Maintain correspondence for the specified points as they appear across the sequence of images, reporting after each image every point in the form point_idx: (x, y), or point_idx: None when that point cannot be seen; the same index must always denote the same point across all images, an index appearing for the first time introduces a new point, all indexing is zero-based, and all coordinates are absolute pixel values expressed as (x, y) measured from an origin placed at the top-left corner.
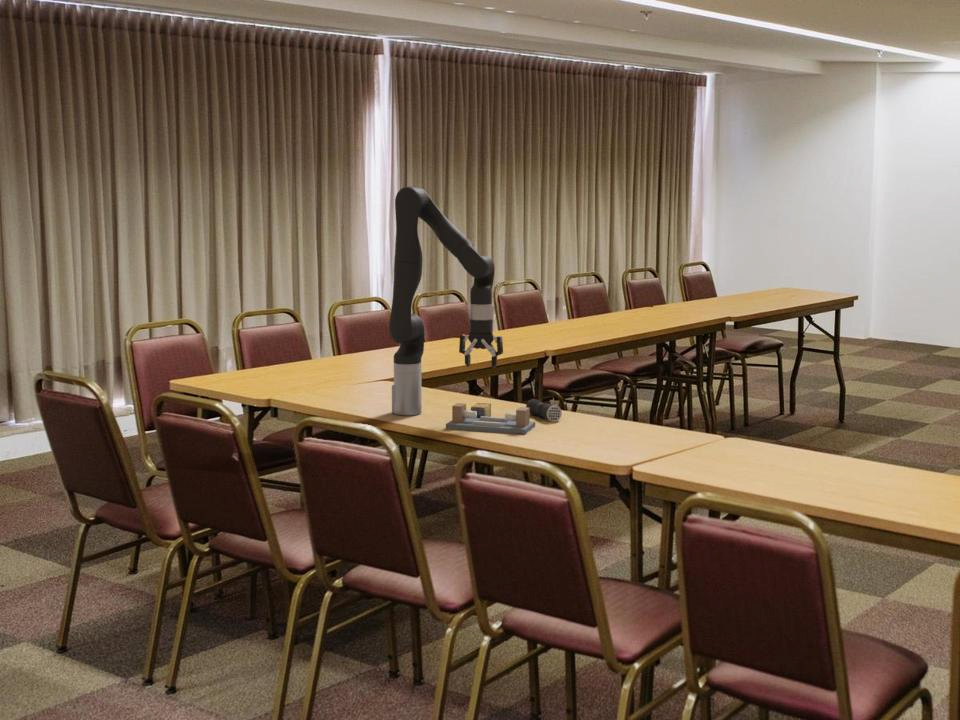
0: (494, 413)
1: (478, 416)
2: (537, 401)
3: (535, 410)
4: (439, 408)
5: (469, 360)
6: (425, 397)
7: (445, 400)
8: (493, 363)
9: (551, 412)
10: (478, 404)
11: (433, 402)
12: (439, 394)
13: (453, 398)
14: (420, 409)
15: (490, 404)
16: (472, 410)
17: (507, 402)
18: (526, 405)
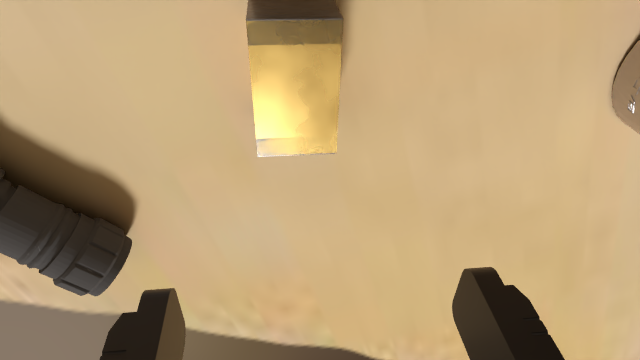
0: (271, 189)
1: (284, 1)
2: (48, 266)
3: (45, 206)
4: (524, 198)
5: (485, 348)
6: (574, 316)
7: None
8: (129, 336)
9: None
10: (319, 115)
11: (548, 271)
12: None
13: None
14: (633, 77)
15: (257, 148)
16: (328, 11)
17: (292, 340)
18: (126, 254)
